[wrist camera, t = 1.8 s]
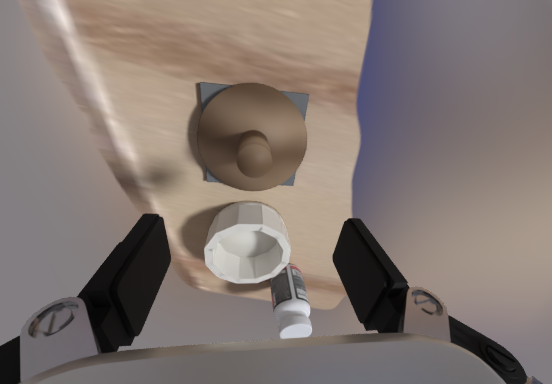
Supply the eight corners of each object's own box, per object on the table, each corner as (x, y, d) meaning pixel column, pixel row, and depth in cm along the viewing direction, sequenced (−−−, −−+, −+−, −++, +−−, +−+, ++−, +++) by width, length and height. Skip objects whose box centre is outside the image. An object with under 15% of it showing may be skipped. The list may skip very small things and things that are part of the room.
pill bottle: (269, 284, 38) (274, 345, 30) (269, 263, 35) (275, 324, 27) (299, 281, 39) (313, 340, 30) (302, 261, 36) (318, 320, 27)
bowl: (209, 199, 27) (201, 223, 23) (289, 202, 29) (295, 224, 25) (213, 256, 33) (207, 284, 29) (280, 256, 35) (284, 282, 30)
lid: (194, 75, 20) (174, 78, 14) (314, 89, 21) (334, 96, 16) (203, 185, 26) (191, 214, 20) (296, 189, 27) (306, 216, 22)
